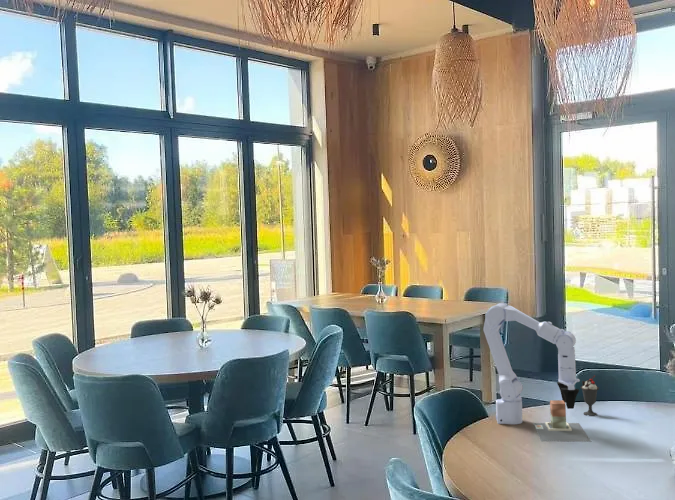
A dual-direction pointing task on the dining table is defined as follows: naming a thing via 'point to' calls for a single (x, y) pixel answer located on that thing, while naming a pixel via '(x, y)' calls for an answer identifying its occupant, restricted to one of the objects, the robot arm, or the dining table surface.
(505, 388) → the robot arm
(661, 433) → the dining table surface
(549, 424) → the grey board
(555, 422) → the sage block
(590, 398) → the sundae
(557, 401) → the terracotta block
